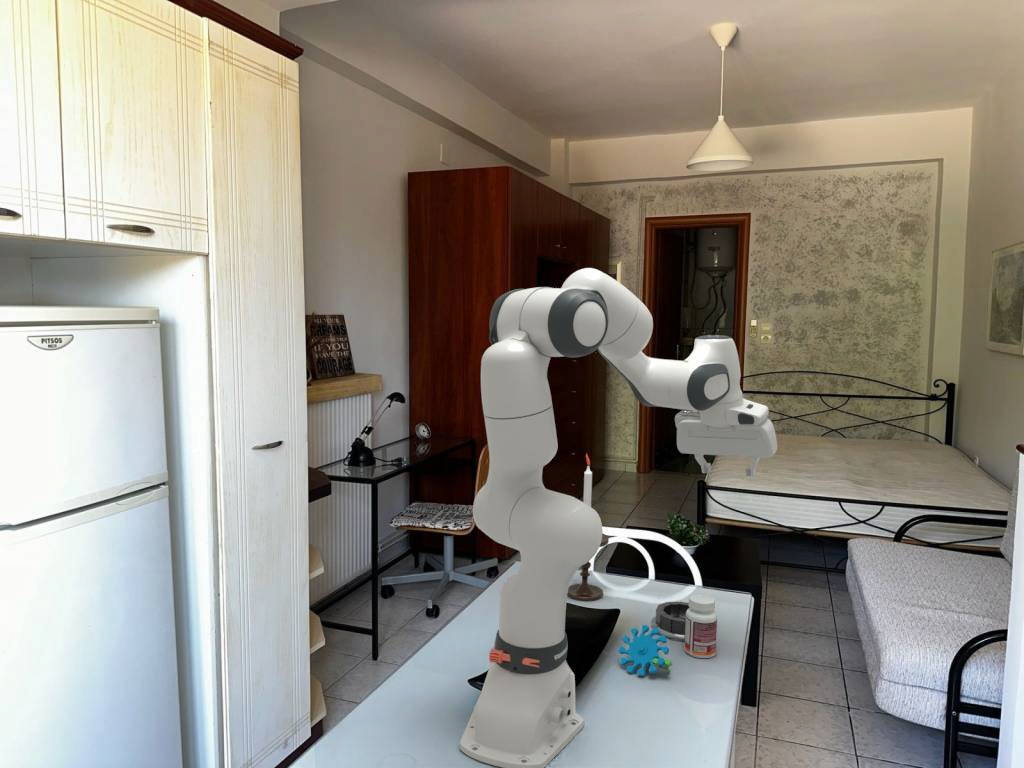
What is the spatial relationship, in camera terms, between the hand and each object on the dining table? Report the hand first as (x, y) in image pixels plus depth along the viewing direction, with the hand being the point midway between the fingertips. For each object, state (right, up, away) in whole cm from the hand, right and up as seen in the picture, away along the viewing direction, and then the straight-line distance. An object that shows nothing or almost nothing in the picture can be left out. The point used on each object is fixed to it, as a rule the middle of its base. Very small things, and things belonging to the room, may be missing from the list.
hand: (728, 473), depth 151 cm
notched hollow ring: (-8, -35, +7) cm, 36 cm away
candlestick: (-28, -33, +26) cm, 50 cm away
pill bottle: (-7, -36, -4) cm, 37 cm away
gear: (-20, -37, -12) cm, 43 cm away
